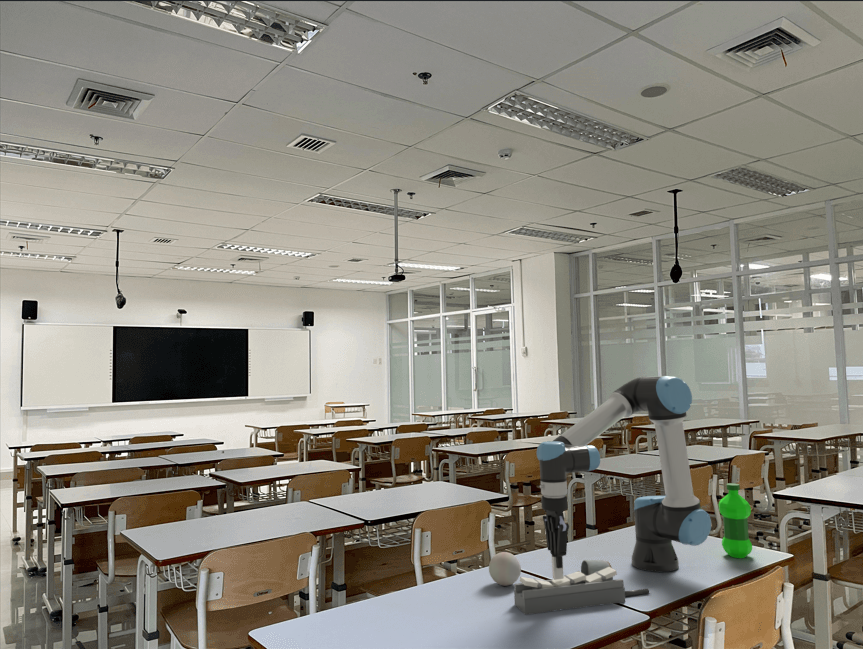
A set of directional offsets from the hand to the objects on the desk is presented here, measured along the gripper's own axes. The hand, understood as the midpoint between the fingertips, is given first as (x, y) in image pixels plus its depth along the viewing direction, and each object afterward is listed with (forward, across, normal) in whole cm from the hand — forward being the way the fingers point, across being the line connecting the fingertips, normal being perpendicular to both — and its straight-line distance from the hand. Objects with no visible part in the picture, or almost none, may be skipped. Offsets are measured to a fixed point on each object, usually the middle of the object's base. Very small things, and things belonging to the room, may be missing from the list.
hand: (558, 578), depth 182 cm
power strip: (+7, 0, +8) cm, 11 cm away
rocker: (+1, 0, +13) cm, 13 cm away
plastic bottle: (+8, -23, +79) cm, 83 cm away
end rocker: (+1, 0, -7) cm, 7 cm away
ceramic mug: (+8, -13, +18) cm, 24 cm away
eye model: (+8, -21, -9) cm, 24 cm away
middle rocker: (+1, 0, +3) cm, 3 cm away
